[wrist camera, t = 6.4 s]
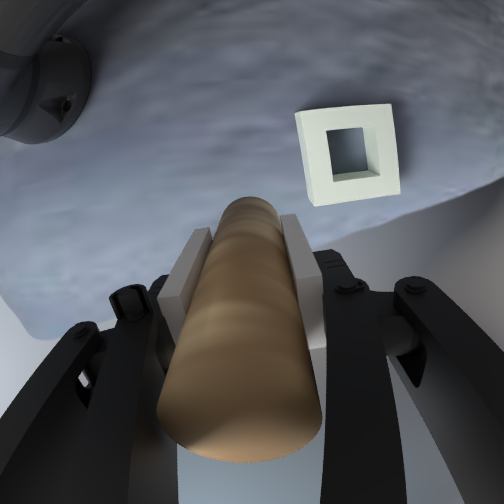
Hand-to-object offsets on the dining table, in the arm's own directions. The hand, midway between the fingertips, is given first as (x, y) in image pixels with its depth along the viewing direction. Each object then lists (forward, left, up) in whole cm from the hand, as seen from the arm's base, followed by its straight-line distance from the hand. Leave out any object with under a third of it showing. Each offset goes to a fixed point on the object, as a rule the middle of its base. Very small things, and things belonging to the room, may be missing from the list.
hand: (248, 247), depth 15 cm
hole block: (+11, +2, -21) cm, 24 cm away
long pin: (0, 0, -4) cm, 4 cm away
